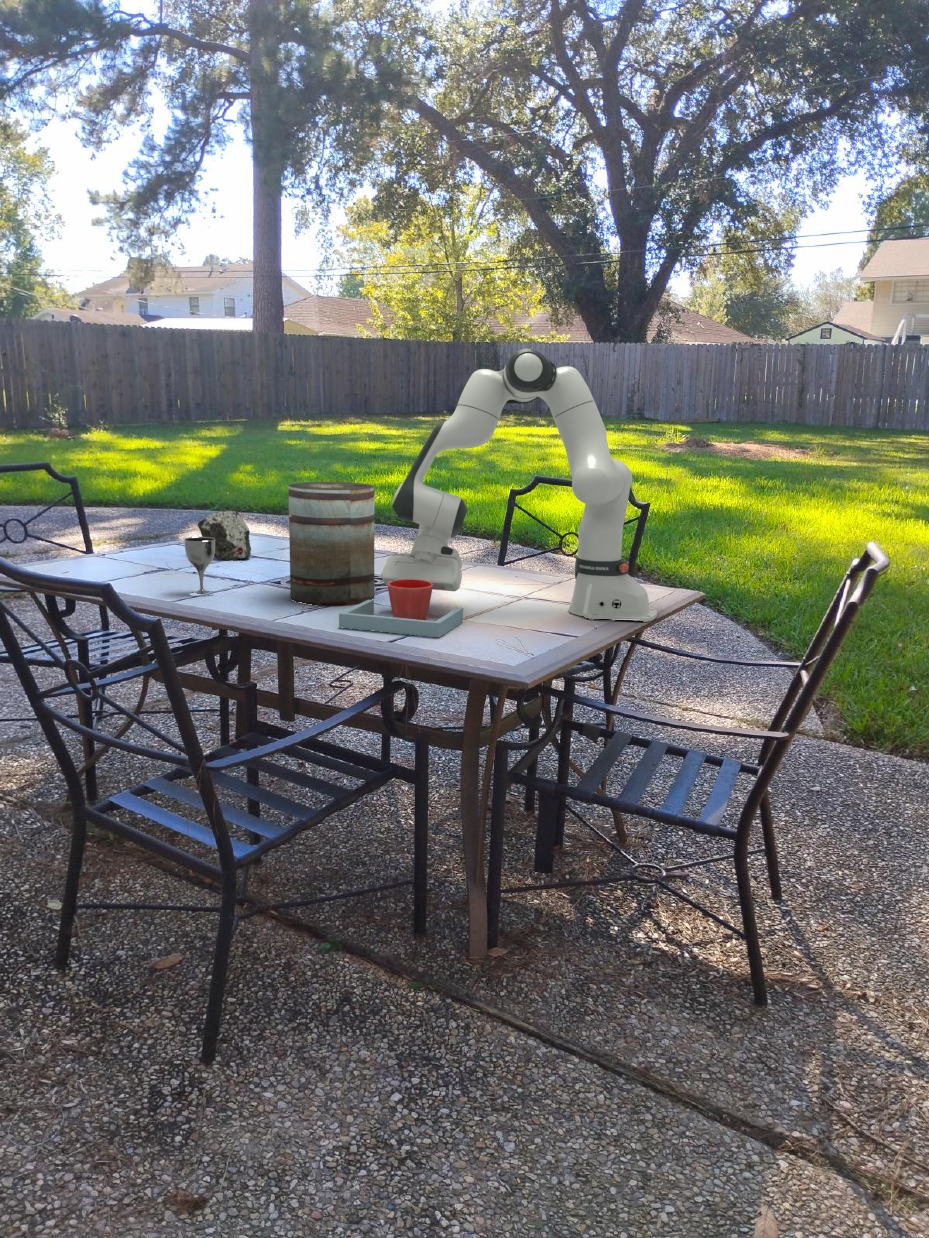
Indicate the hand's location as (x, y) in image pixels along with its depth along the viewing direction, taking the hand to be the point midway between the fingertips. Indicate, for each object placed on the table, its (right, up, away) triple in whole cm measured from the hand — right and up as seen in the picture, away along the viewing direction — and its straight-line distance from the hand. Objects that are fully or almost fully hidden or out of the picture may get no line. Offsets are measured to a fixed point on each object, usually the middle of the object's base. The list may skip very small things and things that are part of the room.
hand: (413, 600), depth 247 cm
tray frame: (-2, -6, -6) cm, 9 cm away
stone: (-66, +16, +83) cm, 107 cm away
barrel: (-23, +1, +23) cm, 33 cm away
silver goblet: (-59, +2, +24) cm, 63 cm away
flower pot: (-1, -6, -4) cm, 7 cm away
